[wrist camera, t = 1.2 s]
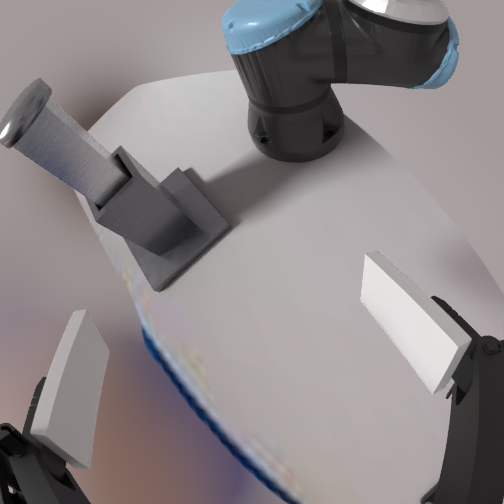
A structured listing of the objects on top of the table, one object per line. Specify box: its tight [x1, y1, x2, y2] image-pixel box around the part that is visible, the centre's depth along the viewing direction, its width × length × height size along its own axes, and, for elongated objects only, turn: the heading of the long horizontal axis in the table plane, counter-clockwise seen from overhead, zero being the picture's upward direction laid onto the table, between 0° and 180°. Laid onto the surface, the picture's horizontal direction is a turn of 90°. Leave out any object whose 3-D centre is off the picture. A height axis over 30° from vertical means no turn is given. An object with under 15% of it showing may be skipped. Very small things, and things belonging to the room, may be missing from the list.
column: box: [0, 78, 133, 208], centre depth 28 cm, size 6×6×28 cm
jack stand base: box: [86, 146, 231, 292], centre depth 35 cm, size 14×14×16 cm
